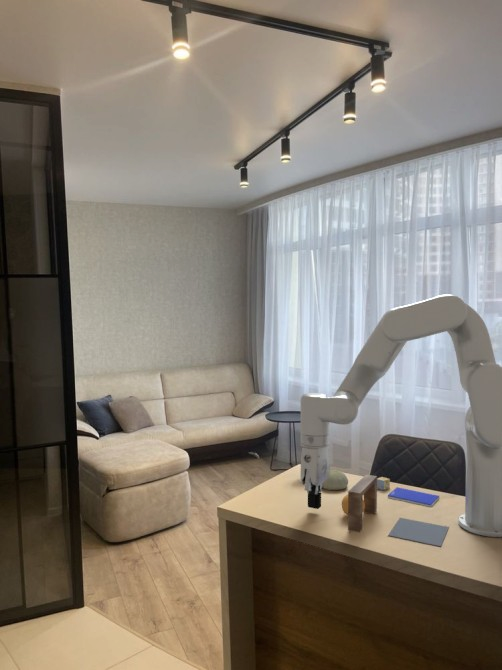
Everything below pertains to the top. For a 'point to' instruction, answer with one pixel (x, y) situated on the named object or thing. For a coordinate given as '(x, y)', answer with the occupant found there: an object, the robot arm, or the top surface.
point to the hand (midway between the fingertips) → (314, 507)
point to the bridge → (361, 501)
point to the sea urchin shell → (335, 481)
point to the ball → (345, 505)
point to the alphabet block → (383, 483)
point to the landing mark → (419, 532)
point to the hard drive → (413, 496)
